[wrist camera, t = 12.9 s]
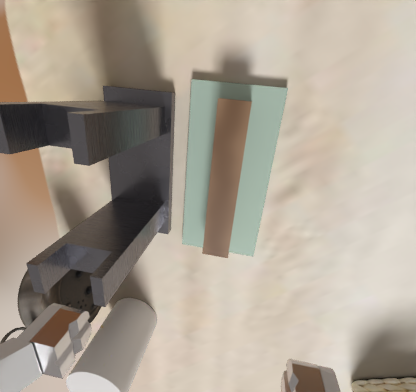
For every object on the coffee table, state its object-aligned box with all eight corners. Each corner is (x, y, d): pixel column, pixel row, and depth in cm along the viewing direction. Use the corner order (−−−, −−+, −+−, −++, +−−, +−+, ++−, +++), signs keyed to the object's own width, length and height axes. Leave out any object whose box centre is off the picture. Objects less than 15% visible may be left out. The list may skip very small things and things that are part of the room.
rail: (251, 101, 25) (251, 101, 22) (229, 243, 32) (227, 258, 29) (221, 98, 25) (217, 98, 22) (206, 239, 32) (202, 253, 29)
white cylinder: (108, 297, 41) (56, 369, 30) (150, 298, 40) (112, 374, 29) (121, 330, 44) (79, 407, 33) (161, 332, 42) (131, 413, 31)
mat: (286, 88, 24) (288, 88, 24) (253, 253, 33) (253, 256, 32) (193, 79, 26) (191, 79, 25) (183, 240, 34) (182, 243, 33)
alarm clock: (69, 233, 37) (-51, 322, 22) (98, 228, 36) (-9, 319, 21) (98, 287, 41) (11, 395, 26) (125, 284, 39) (49, 396, 24)
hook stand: (175, 92, 26) (92, 86, 13) (170, 229, 34) (115, 321, 20) (108, 86, 27) (-36, 73, 13) (118, 220, 34) (29, 302, 21)
